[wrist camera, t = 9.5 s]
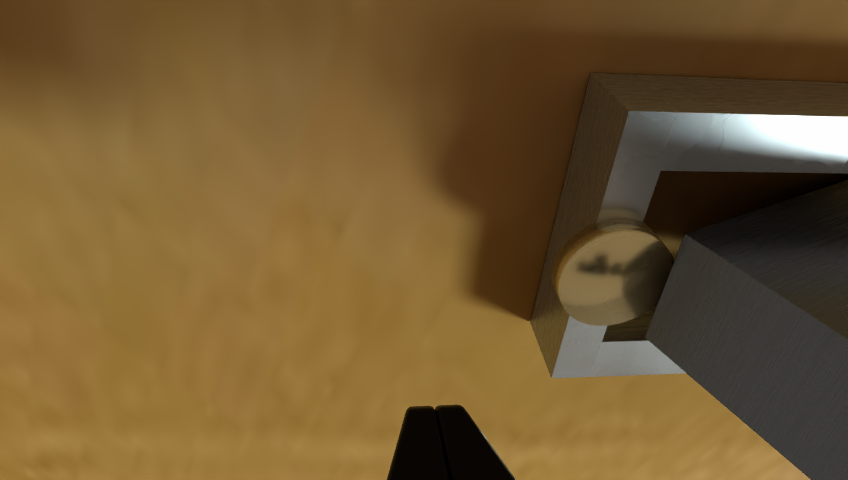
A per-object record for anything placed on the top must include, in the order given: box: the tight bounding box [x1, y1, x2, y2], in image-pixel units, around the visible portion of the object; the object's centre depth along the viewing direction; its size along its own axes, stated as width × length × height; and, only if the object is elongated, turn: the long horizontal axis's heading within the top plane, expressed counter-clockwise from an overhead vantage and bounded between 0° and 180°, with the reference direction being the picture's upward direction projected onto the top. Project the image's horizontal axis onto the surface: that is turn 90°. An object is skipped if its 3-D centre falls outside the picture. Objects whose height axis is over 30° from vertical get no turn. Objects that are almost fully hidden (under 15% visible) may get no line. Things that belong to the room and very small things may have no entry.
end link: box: [530, 73, 848, 378], centre depth 14 cm, size 10×7×3 cm
